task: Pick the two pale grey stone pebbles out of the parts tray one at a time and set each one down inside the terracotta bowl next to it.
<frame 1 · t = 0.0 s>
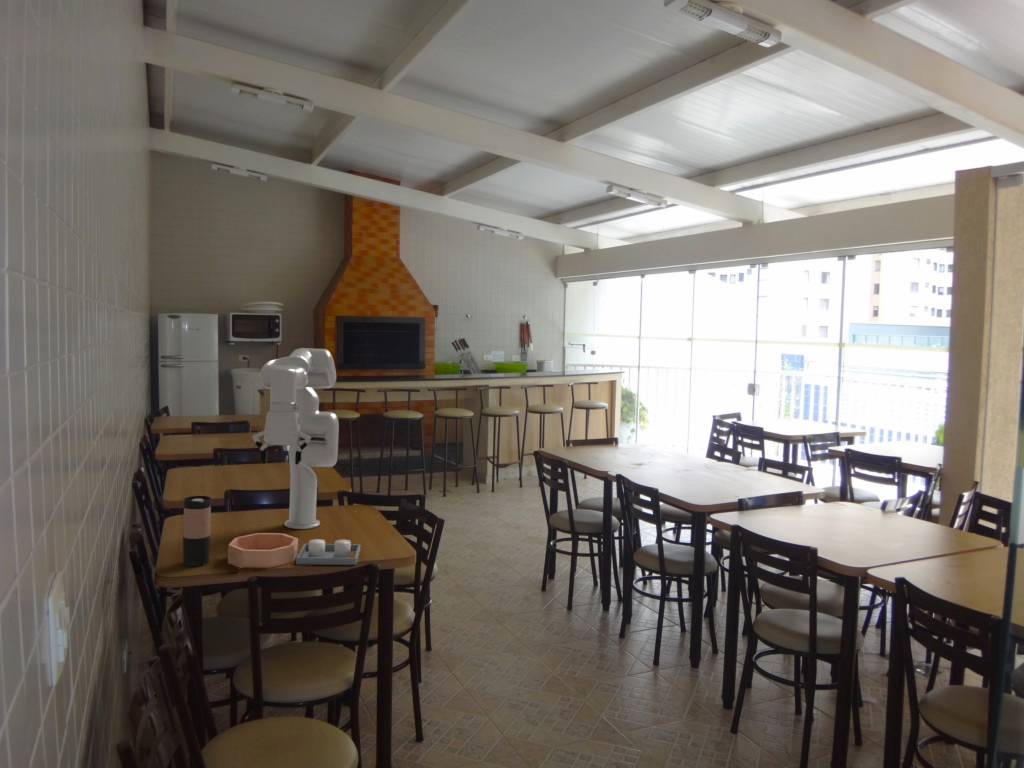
hand: (281, 463, 221), 31 cm above the table, tool pointing down, fingers open, 9 cm apart
bowl: (263, 559, 225), on the table
pebble b: (342, 557, 229), point 1 cm above the table, touching parts tray
travel mug: (196, 563, 219), on the table
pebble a: (316, 556, 228), point 1 cm above the table, touching parts tray
parts tray: (329, 559, 229), on the table
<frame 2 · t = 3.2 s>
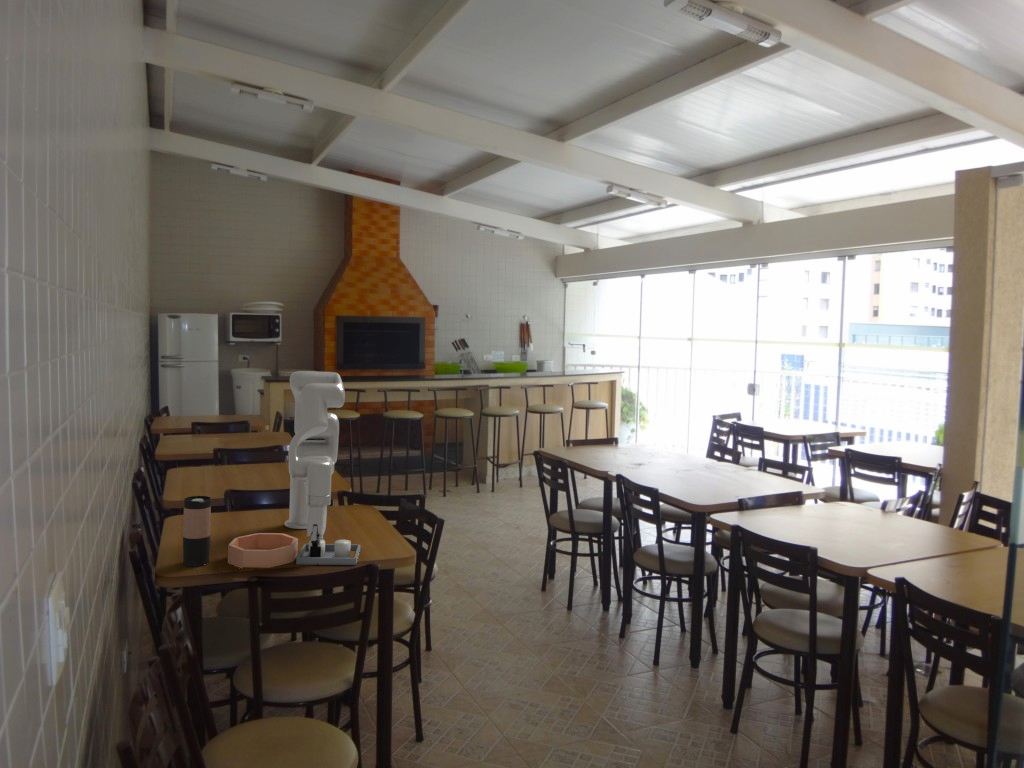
hand: (316, 555, 228), 1 cm above the table, tool pointing down, fingers closed on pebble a, 4 cm apart
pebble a: (316, 556, 228), point 1 cm above the table, touching gripper, parts tray
everything else where it was.
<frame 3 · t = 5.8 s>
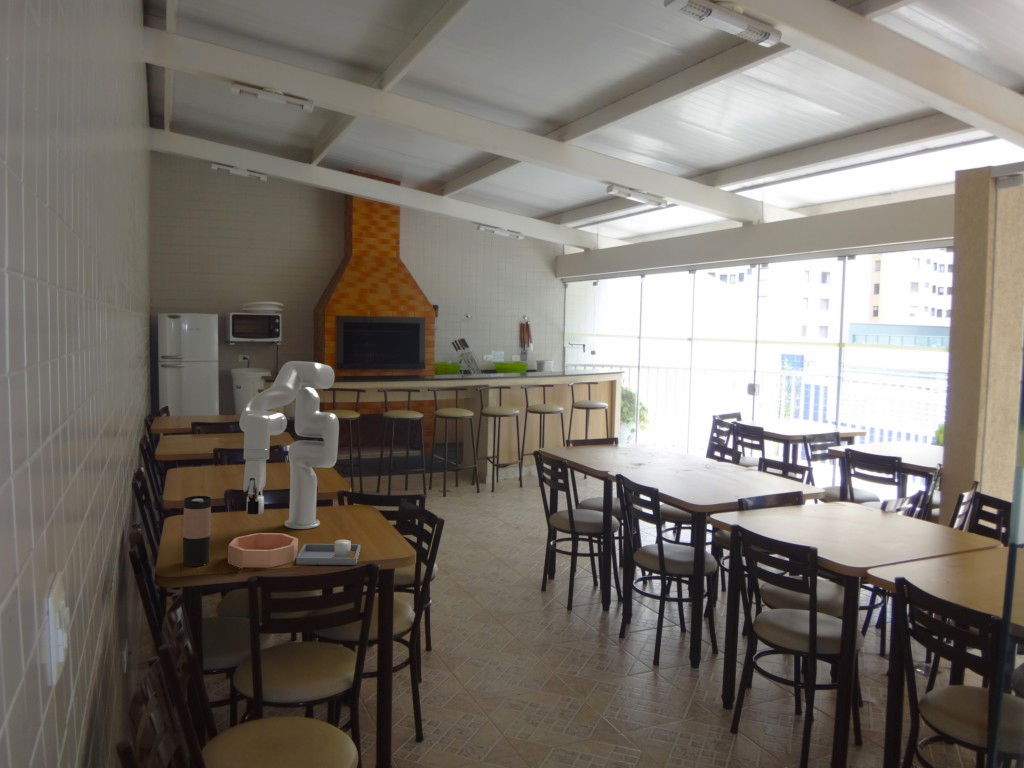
hand: (255, 511, 224), 15 cm above the table, tool pointing down, fingers closed on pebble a, 4 cm apart
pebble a: (255, 512, 224), point 15 cm above the table, touching gripper
everything else where it was.
when the fingers open (4 cm above the table, at t = 8.4 s): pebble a drops 2 cm, resting on bowl.
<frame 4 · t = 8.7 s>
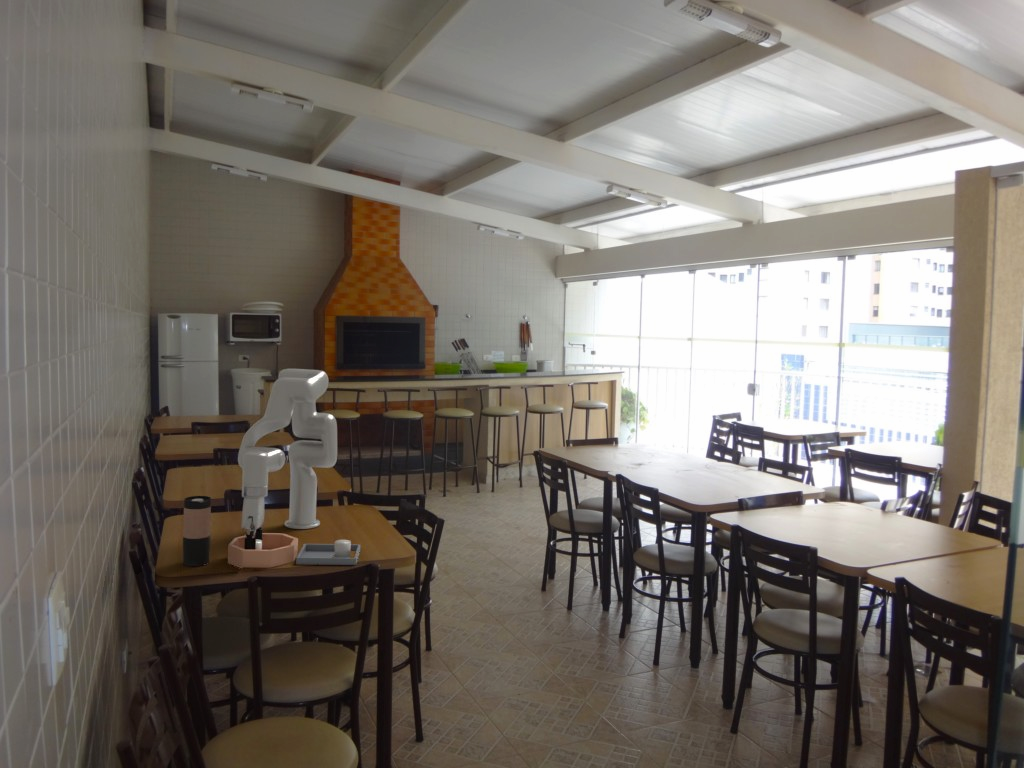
hand: (253, 546, 225), 4 cm above the table, tool pointing down, fingers open, 8 cm apart
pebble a: (253, 557, 225), point 1 cm above the table, touching bowl
everything else where it was.
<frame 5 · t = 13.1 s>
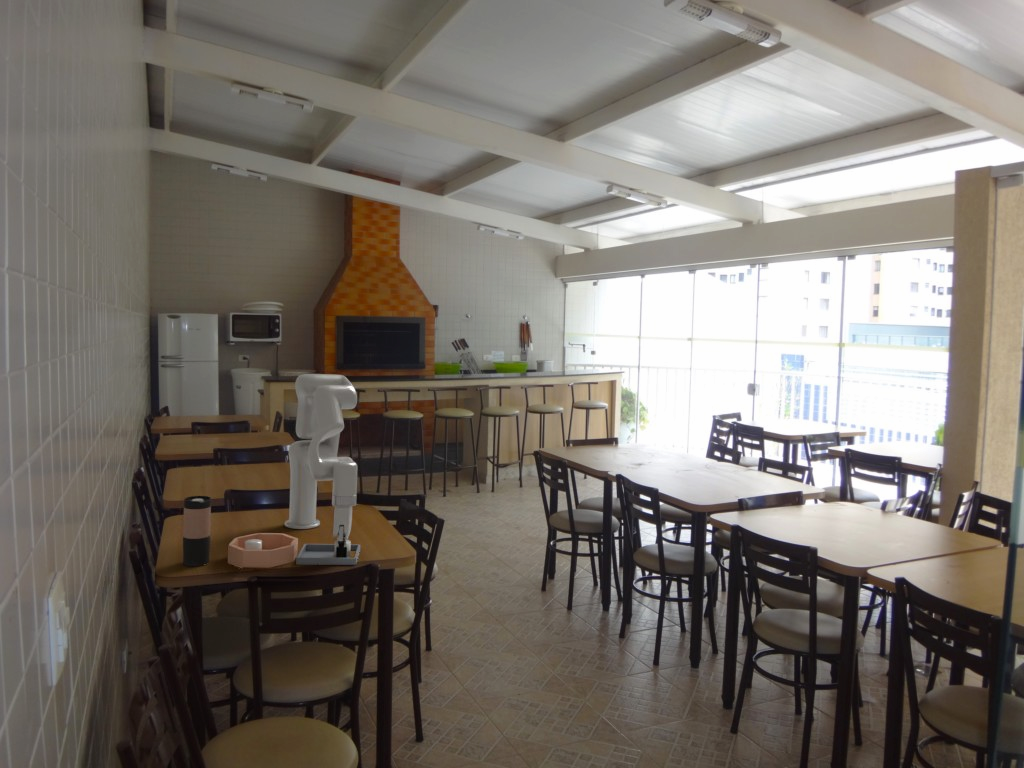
hand: (342, 555, 229), 1 cm above the table, tool pointing down, fingers closed on pebble b, 4 cm apart
pebble b: (342, 557, 229), point 1 cm above the table, touching gripper, parts tray
everything else where it was.
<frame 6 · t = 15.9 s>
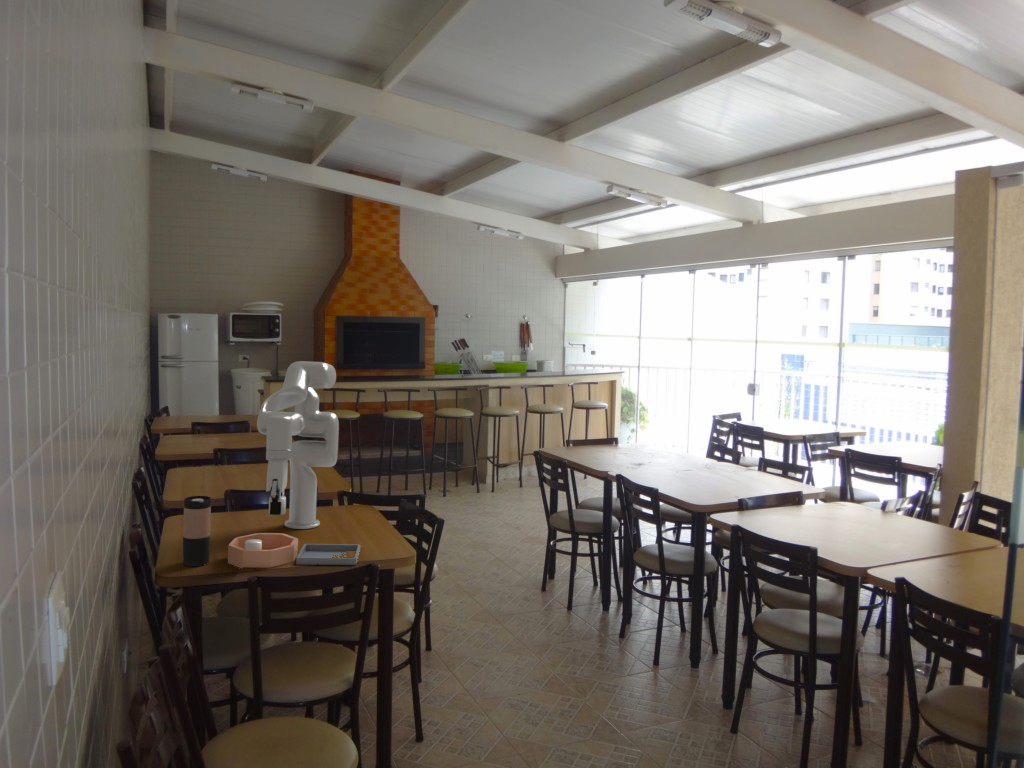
hand: (277, 511, 225), 15 cm above the table, tool pointing down, fingers closed on pebble b, 4 cm apart
pebble b: (277, 513, 225), point 15 cm above the table, touching gripper
everything else where it was.
when the fingers open (4 cm above the table, at t = 18.6 s): pebble b drops 2 cm, resting on bowl.
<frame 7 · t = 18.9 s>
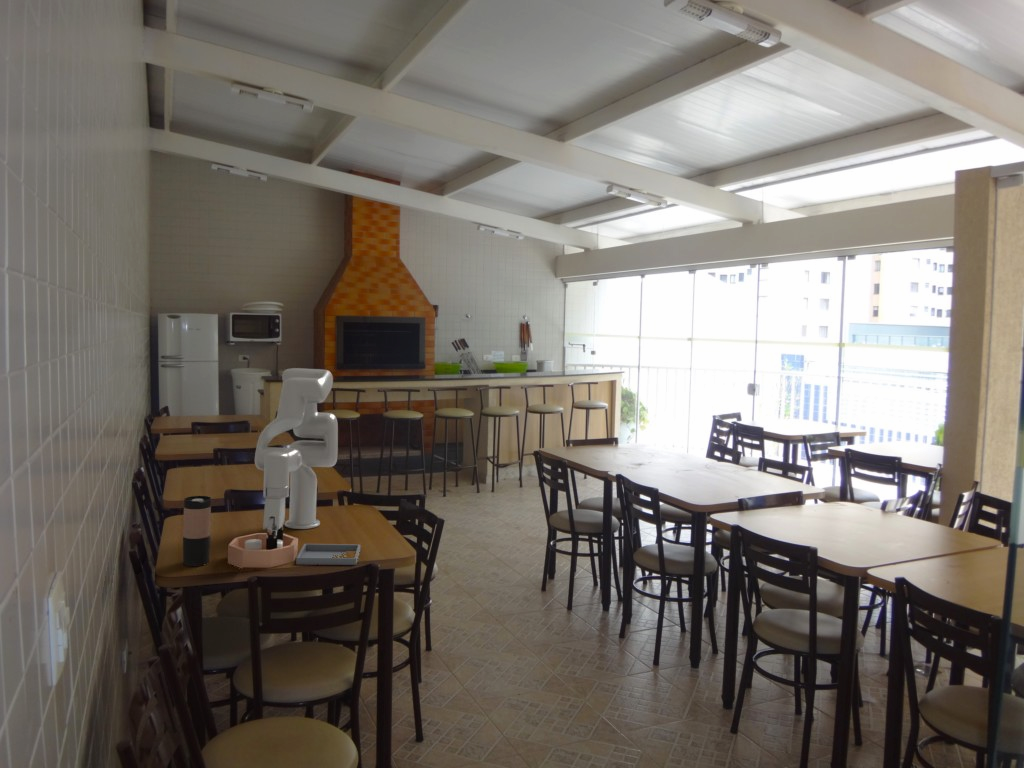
hand: (274, 546, 225), 4 cm above the table, tool pointing down, fingers open, 8 cm apart
pebble b: (274, 557, 226), point 1 cm above the table, touching bowl
everything else where it was.
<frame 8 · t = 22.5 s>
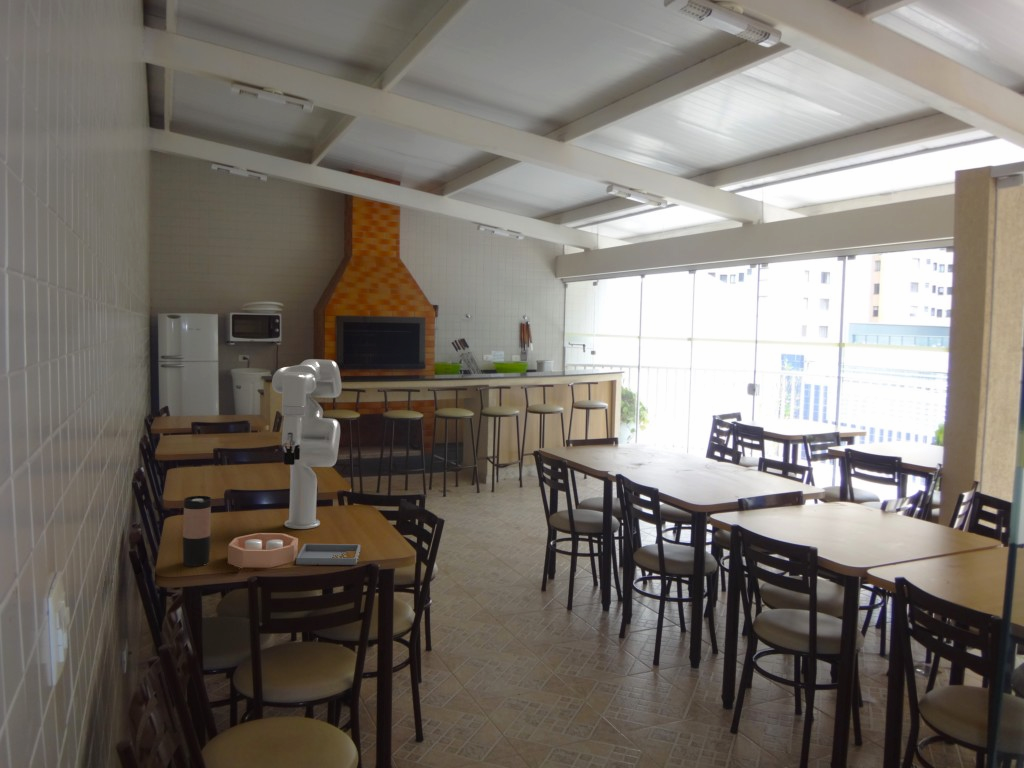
hand: (292, 461, 240), 28 cm above the table, tool pointing down, fingers open, 9 cm apart
nothing on the table moved.
at the end: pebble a inside the target area on the bowl (3.2 cm from its centre), point 0.8 cm above the bowl's base; pebble b inside the target area on the bowl (3.2 cm from its centre), point 0.8 cm above the bowl's base; travel mug moved 0.2 cm from its start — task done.
